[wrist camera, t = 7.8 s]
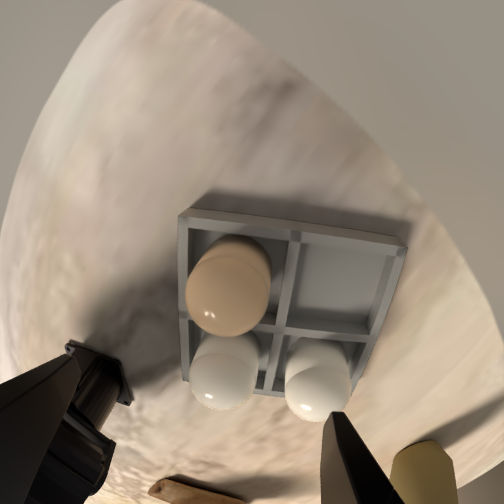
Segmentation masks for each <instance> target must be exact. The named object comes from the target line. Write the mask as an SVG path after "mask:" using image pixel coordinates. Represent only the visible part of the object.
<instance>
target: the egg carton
mask: <svg viewBox="0 0 504 504" xmlns="http://www.w3.org/2000/svg"><path fill="white" fill-rule="evenodd" d="M228 235H242V236H246V237H249V238H251V239H254V240H255V241H257V242H258V243H259V244H261V245H262V246H263V247H264V248H265V250H266V251H267V253H268V254H269V256H270V259H271V262H272V278H271V286H270V294H269V301H268V306H267V309H266V312H265V314H264V316H263V317H262V319H261V320H260V322H259V323H258V324H257V325H256V326H255V327H254V328H253V329H251V330H252V331H253V332H254V333H255V334H256V335H257V337H258V338H259V341H260V343H261V354H260V361H259V368H258V374H257V381H256V386H255V389H254V392H253V394H260V395H267V396H275V397H284V398H285V372H286V354H287V351H288V349H289V348H290V346H291V345H292V344H293V343H294V342H295V341H297V340H298V339H300V338H302V337H309V338H318V339H328V340H339V341H340V342H341V343H342V345H343V347H344V349H345V354H346V359H347V364H348V369H349V374H350V380H351V395H352V393H353V391H354V389H355V387H356V385H357V383H358V381H359V379H360V376H361V374H362V372H363V370H364V368H365V365H366V363H367V361H368V359H369V356H370V354H371V352H372V349H373V347H374V344H375V342H376V340H377V337H378V335H379V332H380V329H381V327H382V324H383V322H384V319H385V316H386V314H387V311H388V308H389V305H390V303H391V300H392V297H393V294H394V291H395V288H396V285H397V282H398V279H399V275H400V272H401V269H402V266H403V262H404V259H405V255H406V252H407V247H406V245H405V244H404V243H403V242H402V241H401V240H400V239H399V238H398V237H395V236H389V235H383V234H377V233H371V232H365V231H359V230H352V229H346V228H340V227H333V226H327V225H320V224H313V223H306V222H299V221H292V220H285V219H277V218H270V217H262V216H254V215H246V214H238V213H230V212H222V211H213V210H204V209H195V208H188V209H186V210H185V211H184V212H182V213H181V214H180V215H178V306H179V330H180V348H181V363H182V377H183V381H187V382H189V378H188V377H189V369H190V366H191V363H192V361H193V359H194V356H195V354H196V351H197V349H198V346H199V344H200V342H201V339H202V337H203V334H204V332H205V331H204V330H203V329H201V328H200V327H199V326H198V325H197V324H196V323H195V322H194V321H193V319H192V318H191V316H190V314H189V312H188V310H187V307H186V303H185V287H186V283H187V280H188V278H189V276H190V274H191V272H192V271H193V269H194V268H195V266H196V265H197V263H198V262H199V260H200V259H201V257H202V256H203V254H204V253H205V252H206V250H207V249H208V247H209V246H210V245H211V244H212V243H213V242H214V241H216V240H217V239H219V238H221V237H224V236H228ZM350 397H351V396H350Z"/></svg>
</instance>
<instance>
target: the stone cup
mask: <svg viewBox="0 0 504 504" xmlns="http://www.w3.org/2000/svg"><path fill="white" fill-rule="evenodd" d="M148 494H149V495H150V496H153V497H155V498H158V499H160V500H163V501H166V502H168V503H171V504H246V502H244V501H242V500H240V499H236V498H232V497H229V496H225V495H221V494H217V493H213V492H210V491H206V490H202V489H198V488H195V487H191V486H188V485H184V484H181V483H178V482H174V481H171V480H168V479H163V480H162V481H159V482H157V483H156V484H154V485H153V486H152V487H151V488H150V489H149V491H148Z"/></svg>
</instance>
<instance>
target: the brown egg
mask: <svg viewBox="0 0 504 504" xmlns="http://www.w3.org/2000/svg"><path fill="white" fill-rule="evenodd" d="M271 278H272V262H271V259H270V256H269V254H268V253H267V251H266V250H265V248H264V247H263V246H262V245H261V244H259V243H258V242H257V241H255V240H254V239H251V238H249V237H246V236H242V235H228V236H224V237H221V238H219V239H217V240H216V241H214V242H213V243H212V244H211V245H210V246H209V247H208V249H207V250H206V252H205V253H204V254H203V256H202V257H201V259H200V260H199V262H198V263H197V265H196V266H195V268H194V269H193V271H192V272H191V274H190V276H189V278H188V280H187V283H186V287H185V303H186V307H187V310H188V312H189V314H190V316H191V318H192V319H193V321H194V322H195V323H196V324H197V325H198V326H199V327H200V328H201V329H203V330H204V331H206V332H208V333H210V334H212V335H215V336H220V337H234V336H239V335H242V334H244V333H246V332H248V331H250V330H251V329H253V328H254V327H255V326H256V325H257V324H258V323H259V322H260V320H261V319H262V317H263V316H264V314H265V312H266V309H267V306H268V301H269V294H270V286H271Z"/></svg>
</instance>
